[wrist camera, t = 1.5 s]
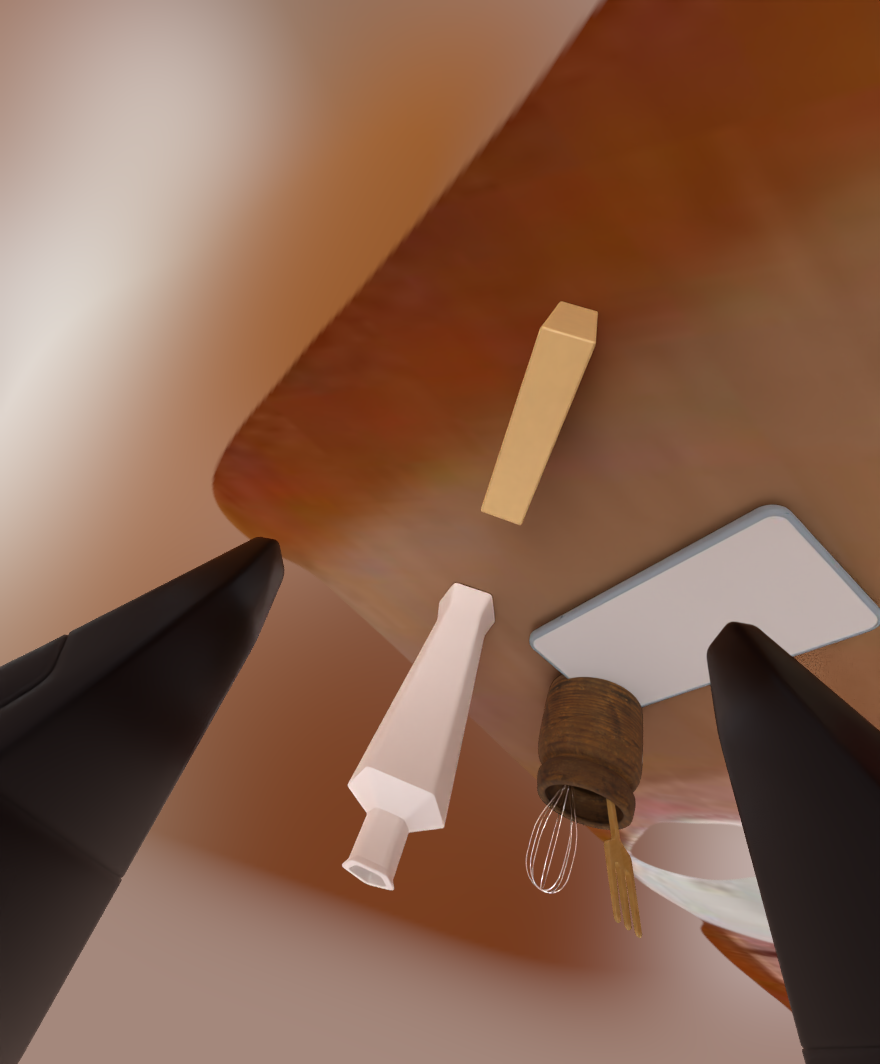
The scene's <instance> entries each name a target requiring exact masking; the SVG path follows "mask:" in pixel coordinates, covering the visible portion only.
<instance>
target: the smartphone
mask: <svg viewBox="0 0 880 1064" xmlns="http://www.w3.org/2000/svg"><path fill="white" fill-rule="evenodd" d="M733 621H735V622H741V623H747V624H752V625H755V626H757V627H758V628H759V629H761V630H762V631H763V632H764V633H765V634H766V635H768V636H769V637H770V638H771V639H772V640H773V641H775V642H776V643H777V644H778V645H779V646H781V647H782V648H783V649H784V650H785V651H786V652H788V653H789V654H790V655H791V656H792V657H794V656H797V655H800V654H803V653H806V652H809V651H812V650H815V649H818V648H821V647H824V646H827V645H830V644H833V643H836V642H839V641H842V640H845V639H848V638H851V637H854V636H857V635H860V634H863V633H866V632H869V631H871V630H873V629H875V628H877V627H878V626H879V625H880V608H879V607H878V606H877V605H876V604H875V603H874V602H873V600H872V599H871V598H870V597H869V596H868V595H867V594H866V593H865V592H864V591H863V589H862V588H861V587H860V586H859V585H858V584H857V583H856V582H855V581H854V580H853V578H852V577H851V576H850V575H849V574H848V573H847V572H846V571H845V570H844V569H843V568H842V566H841V565H840V564H839V563H838V562H837V561H836V560H835V559H834V558H833V557H832V556H831V554H830V553H829V552H828V551H827V550H826V549H825V548H824V547H823V546H822V545H821V544H820V542H819V541H818V540H817V539H816V538H815V537H814V536H813V535H812V534H811V533H810V531H809V530H808V529H807V528H806V527H805V526H804V525H803V524H802V523H801V522H800V521H799V519H798V518H797V517H796V516H795V515H794V514H793V513H792V512H791V511H790V510H789V509H787V508H786V507H783V506H780V505H765V506H761V507H759V508H756V509H755V510H753V511H751V512H749V513H747V514H746V515H744V516H742V517H740V518H738V519H736V520H735V521H733V522H731V523H729V524H727V525H725V526H724V527H722V528H720V529H718V530H716V531H714V532H713V533H711V534H709V535H707V536H705V537H704V538H702V539H700V540H698V541H696V542H694V543H693V544H691V545H689V546H687V547H685V548H683V549H682V550H680V551H678V552H676V553H674V554H672V555H671V556H669V557H667V558H665V559H663V560H662V561H660V562H658V563H656V564H654V565H652V566H651V567H649V568H647V569H645V570H643V571H641V572H640V573H638V574H636V575H634V576H632V577H630V578H629V579H627V580H625V581H623V582H621V583H620V584H618V585H616V586H614V587H612V588H610V589H609V590H607V591H605V592H603V593H601V594H599V595H598V596H596V597H594V598H592V599H590V600H588V601H587V602H585V603H583V604H581V605H579V606H578V607H576V608H574V609H572V610H570V611H568V612H567V613H565V614H563V615H561V616H559V617H557V618H556V619H554V620H552V621H550V622H548V623H546V624H545V625H543V626H541V627H539V628H537V629H536V630H534V631H533V632H532V633H531V635H530V639H529V642H530V645H531V647H532V648H533V649H534V650H535V651H536V652H537V653H539V654H540V655H541V656H542V657H543V658H544V659H545V660H547V661H548V662H549V663H550V664H551V665H552V666H554V667H555V668H556V669H557V670H558V671H559V672H561V673H562V674H563V675H564V676H565V677H566V678H568V679H570V678H575V677H594V678H600V679H604V680H608V681H611V682H613V683H616V684H618V685H620V686H622V687H624V688H625V689H627V690H628V691H629V692H631V693H632V694H633V695H634V696H635V697H636V698H637V700H638V701H639V703H640V705H641V707H644V706H647V705H650V704H653V703H656V702H659V701H662V700H665V699H668V698H671V697H674V696H677V695H680V694H683V693H686V692H689V691H692V690H695V689H698V688H701V687H704V686H707V685H710V679H709V672H708V665H707V650H708V647H709V646H710V644H711V643H712V642H713V640H714V639H715V638H716V637H717V635H718V634H719V633H720V631H721V630H722V629H723V628H724V626H725V625H726V624H727V623H729V622H733Z"/></svg>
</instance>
